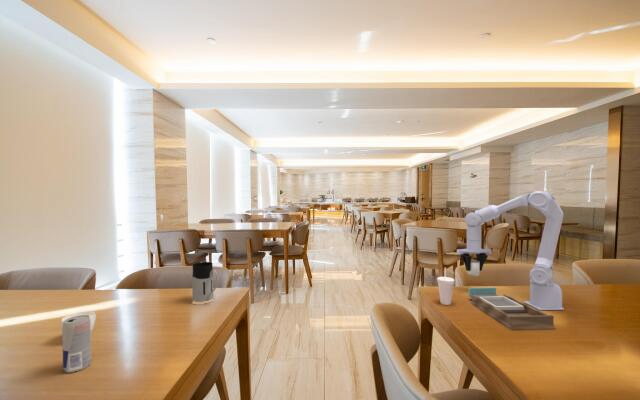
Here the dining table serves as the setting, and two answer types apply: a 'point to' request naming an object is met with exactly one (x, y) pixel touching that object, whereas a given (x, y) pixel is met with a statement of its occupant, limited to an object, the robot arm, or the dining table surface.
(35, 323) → the dining table surface
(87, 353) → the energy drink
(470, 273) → the disc stack
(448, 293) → the smoothie
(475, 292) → the tray
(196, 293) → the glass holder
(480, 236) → the robot arm
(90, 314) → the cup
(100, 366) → the dining table surface
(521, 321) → the dock
